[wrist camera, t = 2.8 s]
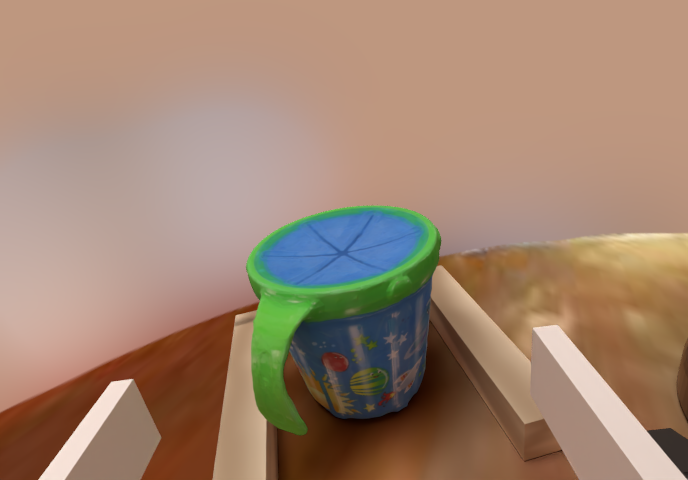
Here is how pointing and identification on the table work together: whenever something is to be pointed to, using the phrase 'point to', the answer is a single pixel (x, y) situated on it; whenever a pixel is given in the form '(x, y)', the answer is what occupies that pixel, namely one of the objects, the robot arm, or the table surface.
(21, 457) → the table surface
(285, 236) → the snack cup
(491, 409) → the wooden frame
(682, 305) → the table surface
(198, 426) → the table surface
